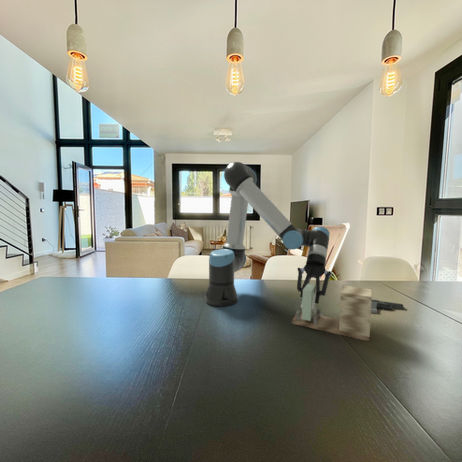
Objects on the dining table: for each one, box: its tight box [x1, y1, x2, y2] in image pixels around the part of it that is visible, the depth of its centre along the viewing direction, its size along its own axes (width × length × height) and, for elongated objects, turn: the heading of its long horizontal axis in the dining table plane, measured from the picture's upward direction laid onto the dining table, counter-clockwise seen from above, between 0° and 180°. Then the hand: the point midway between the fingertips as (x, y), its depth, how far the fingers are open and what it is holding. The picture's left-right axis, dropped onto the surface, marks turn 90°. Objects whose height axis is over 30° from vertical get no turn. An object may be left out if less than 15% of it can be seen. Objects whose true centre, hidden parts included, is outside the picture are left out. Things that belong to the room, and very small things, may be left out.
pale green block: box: [299, 283, 316, 321], centre depth 90 cm, size 4×9×11 cm, turn 151°
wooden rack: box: [291, 285, 373, 342], centre depth 86 cm, size 25×9×15 cm, turn 61°
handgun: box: [371, 299, 405, 314], centre depth 104 cm, size 3×18×12 cm
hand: (307, 309), depth 88 cm, fingers closed on pale green block, 3 cm apart
